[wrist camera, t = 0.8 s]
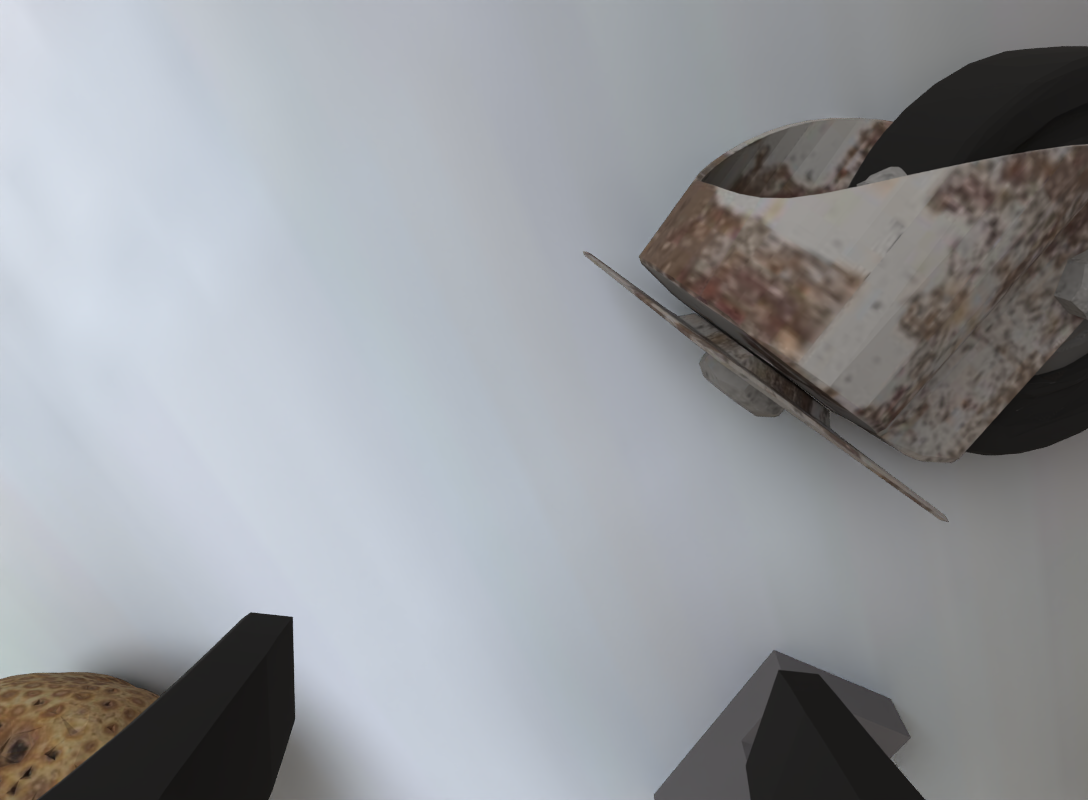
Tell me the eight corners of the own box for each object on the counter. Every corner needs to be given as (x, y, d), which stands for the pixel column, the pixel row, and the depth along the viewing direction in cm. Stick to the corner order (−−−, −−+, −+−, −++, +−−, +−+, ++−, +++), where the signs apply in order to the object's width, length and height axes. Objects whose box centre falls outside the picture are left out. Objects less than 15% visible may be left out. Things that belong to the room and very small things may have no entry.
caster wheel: (1107, 186, 19) (857, 474, 21) (855, -144, 15) (563, 269, 17) (1439, 240, 14) (1052, 630, 16) (1203, -283, 9) (685, 383, 11)
